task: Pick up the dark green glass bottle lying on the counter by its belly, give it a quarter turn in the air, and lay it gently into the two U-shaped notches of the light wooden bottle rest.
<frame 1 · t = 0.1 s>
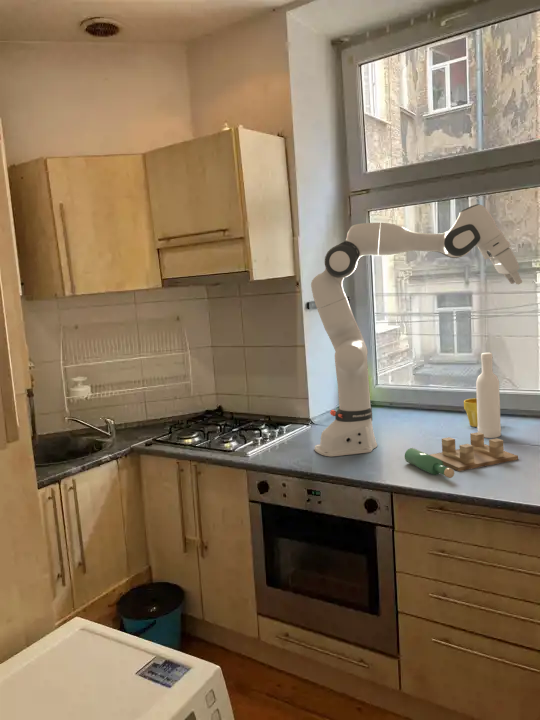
hand: (516, 283, 205), 54 cm above the counter, tool tilted 30°, fingers open, 8 cm apart
bottle: (423, 468, 192), on the counter
bottle rest: (472, 458, 198), on the counter
bottle 2: (489, 435, 223), on the counter
plant pot: (478, 425, 238), on the counter
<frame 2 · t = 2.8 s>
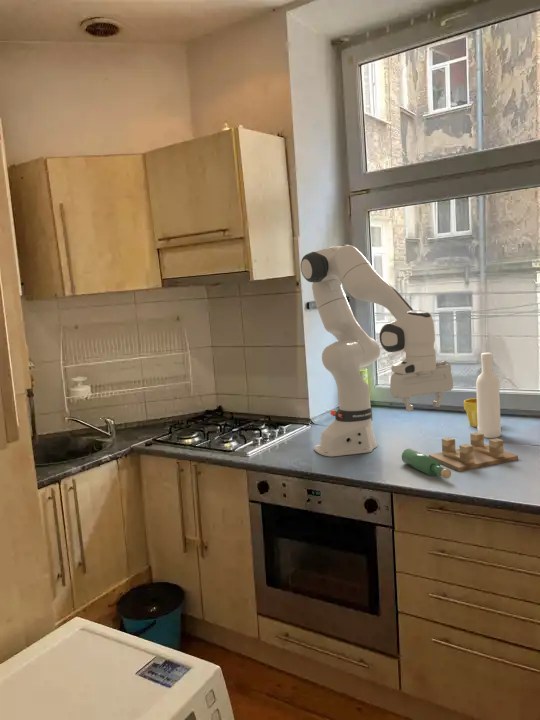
hand: (423, 408, 189), 19 cm above the counter, tool pointing down, fingers open, 8 cm apart
bottle: (423, 468, 192), on the counter, tilted 26°
everything else where it was.
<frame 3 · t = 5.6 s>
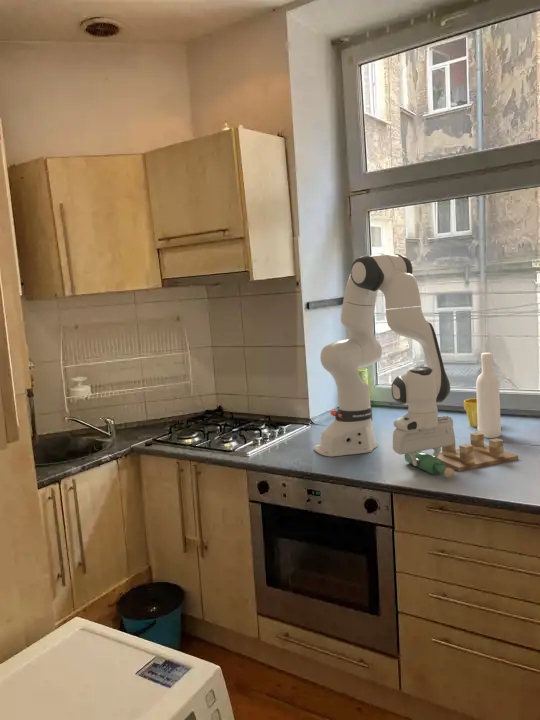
hand: (425, 463, 191), 2 cm above the counter, tool pointing down, fingers closed on bottle, 5 cm apart
bottle: (423, 468, 192), on the counter, touching gripper
everything else where it was.
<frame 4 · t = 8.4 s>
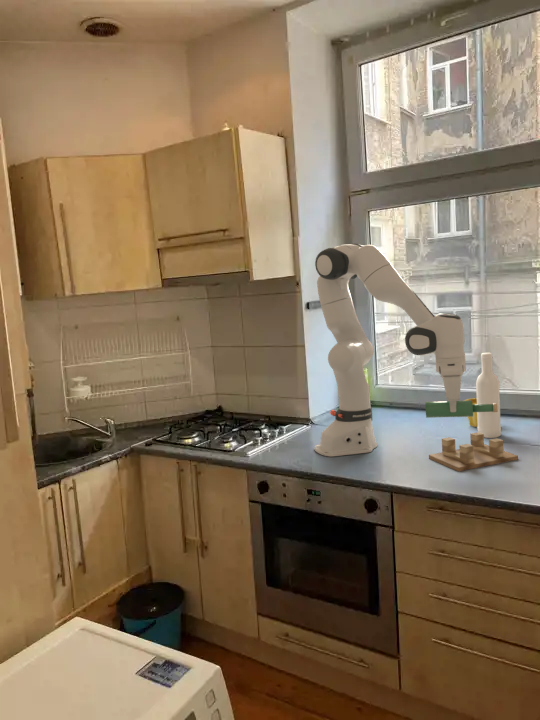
hand: (452, 409, 192), 17 cm above the counter, tool pointing down, fingers closed on bottle, 5 cm apart
bottle: (449, 416, 193), point 15 cm above the counter, touching gripper
everything else where it was.
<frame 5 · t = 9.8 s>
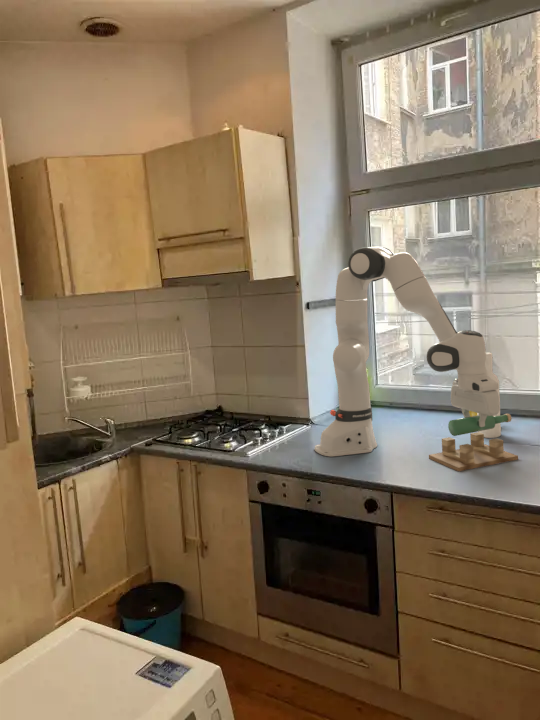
hand: (474, 424, 196), 11 cm above the counter, tool pointing down, fingers closed on bottle, 5 cm apart
bottle: (471, 432, 196), point 9 cm above the counter, touching gripper
everything else where it was.
when the fingers open (5 cm above the counter, at t = 11.3 s): bottle stays where it is, resting on bottle rest.
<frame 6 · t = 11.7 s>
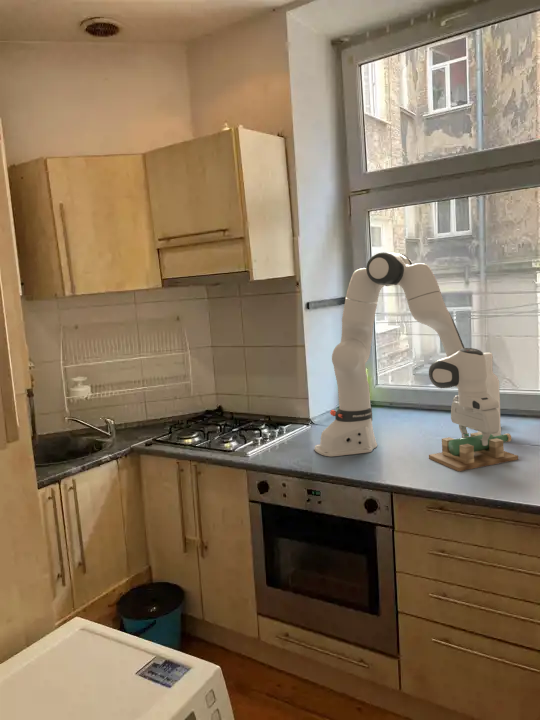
hand: (474, 441, 197), 5 cm above the counter, tool pointing down, fingers open, 8 cm apart
bottle: (471, 451, 197), point 2 cm above the counter, tilted 10°, touching bottle rest
everything else where it was.
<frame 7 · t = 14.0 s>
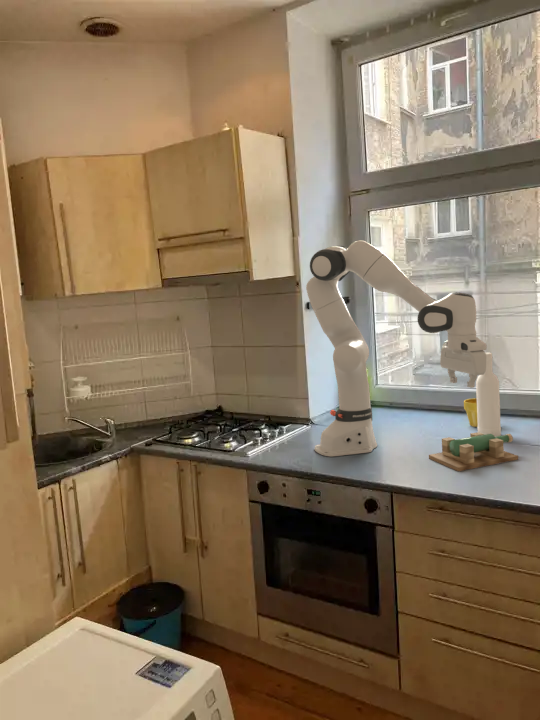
hand: (462, 384, 201), 23 cm above the counter, tool pointing down, fingers open, 8 cm apart
bottle: (471, 450, 197), point 3 cm above the counter, tilted 23°, touching bottle rest
everything else where it was.
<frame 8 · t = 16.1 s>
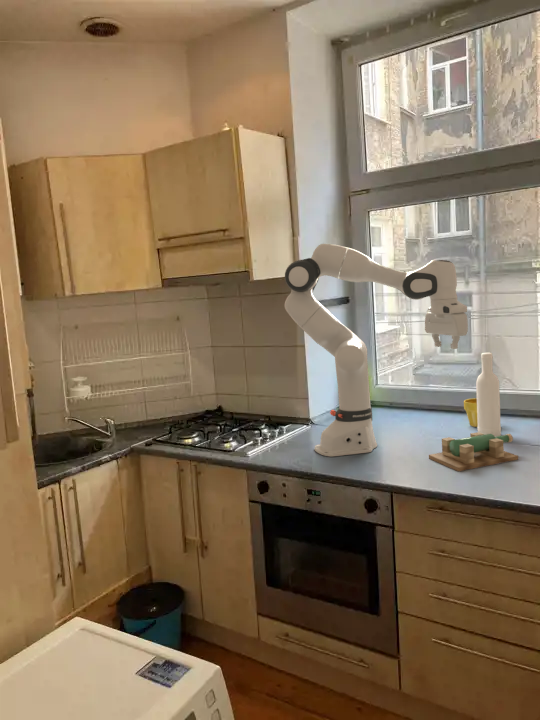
hand: (446, 347, 211), 34 cm above the counter, tool pointing down, fingers open, 8 cm apart
nothing on the counter moved.
at the end: bottle inside the target area on the bottle rest (0.3 cm from its centre), point 2.6 cm above the bottle rest's base; bottle touching bottle rest; the gripper is holding nothing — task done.
